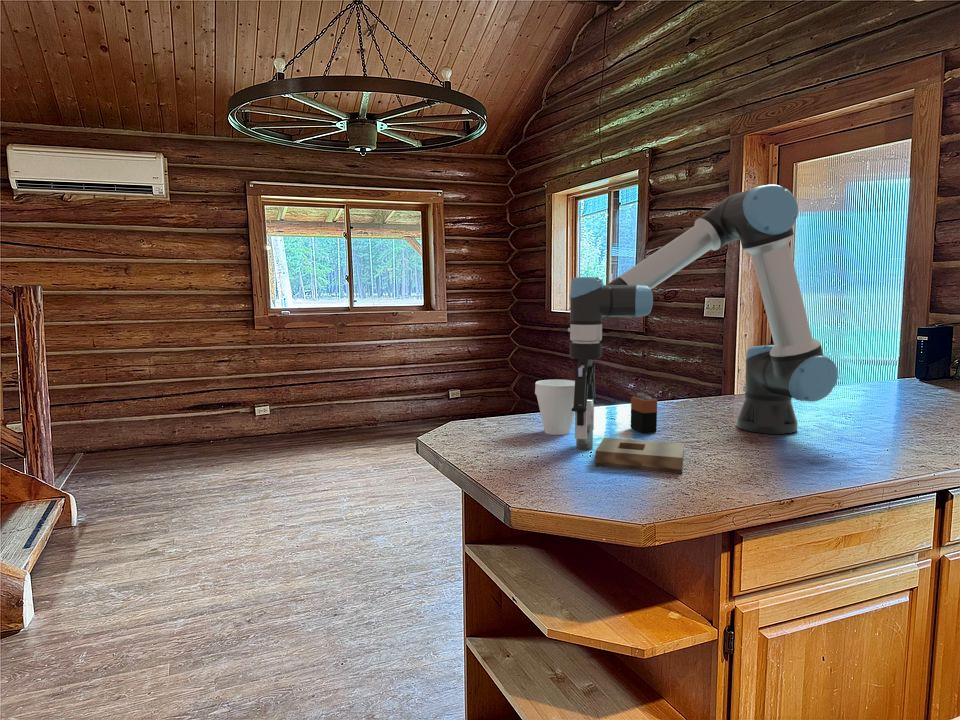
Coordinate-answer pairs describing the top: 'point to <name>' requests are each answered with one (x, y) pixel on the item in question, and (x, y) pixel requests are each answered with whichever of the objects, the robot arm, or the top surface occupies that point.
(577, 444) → the pin
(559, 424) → the cup
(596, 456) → the bore block
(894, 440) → the top surface
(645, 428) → the battery
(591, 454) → the top surface
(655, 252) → the robot arm
